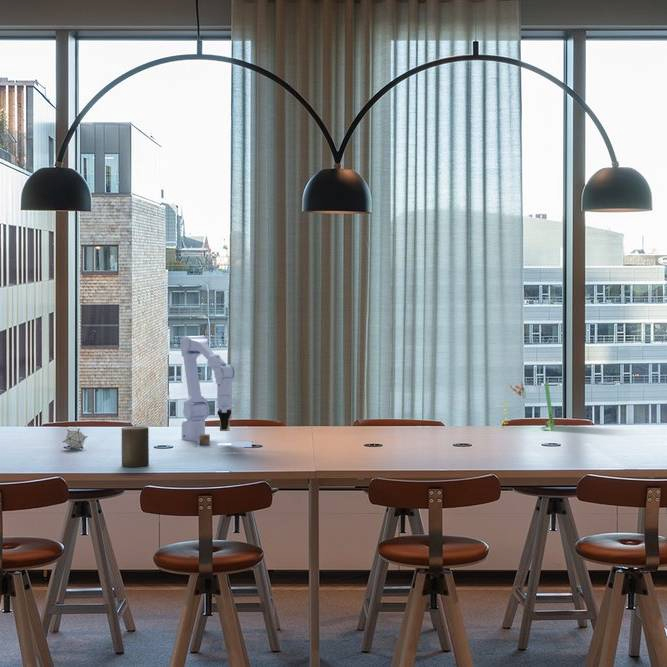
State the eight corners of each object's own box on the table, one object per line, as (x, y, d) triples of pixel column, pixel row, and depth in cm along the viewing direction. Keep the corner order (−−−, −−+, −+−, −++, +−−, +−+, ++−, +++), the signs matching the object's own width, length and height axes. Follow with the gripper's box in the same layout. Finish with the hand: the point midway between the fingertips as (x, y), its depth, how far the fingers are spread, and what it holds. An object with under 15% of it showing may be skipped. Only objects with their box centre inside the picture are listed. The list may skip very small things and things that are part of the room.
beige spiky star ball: (70, 458, 422) (54, 439, 421) (81, 448, 430) (66, 429, 428) (84, 449, 418) (68, 429, 417) (95, 439, 425) (79, 419, 424)
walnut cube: (199, 445, 430) (199, 435, 430) (199, 444, 434) (199, 434, 434) (209, 445, 430) (209, 435, 430) (209, 444, 434) (209, 434, 434)
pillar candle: (149, 467, 380) (149, 425, 379) (121, 467, 378) (121, 425, 377) (148, 463, 389) (148, 422, 389) (121, 464, 387) (121, 422, 387)
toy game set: (502, 431, 510) (495, 381, 510) (555, 425, 503) (548, 375, 503) (497, 437, 489) (490, 385, 489) (552, 431, 482) (545, 378, 482)
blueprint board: (196, 448, 424) (196, 447, 424) (197, 443, 439) (197, 442, 439) (251, 448, 426) (251, 446, 426) (251, 443, 441) (251, 441, 441)
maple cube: (219, 431, 430) (219, 421, 430) (219, 429, 434) (219, 420, 434) (229, 431, 431) (229, 421, 430) (229, 429, 435) (229, 420, 434)
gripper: (234, 396, 425) (234, 430, 426) (234, 393, 439) (234, 426, 440) (216, 396, 424) (216, 430, 425) (217, 393, 439) (217, 426, 439)
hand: (224, 428), depth 432 cm, fingers closed on maple cube, 4 cm apart
